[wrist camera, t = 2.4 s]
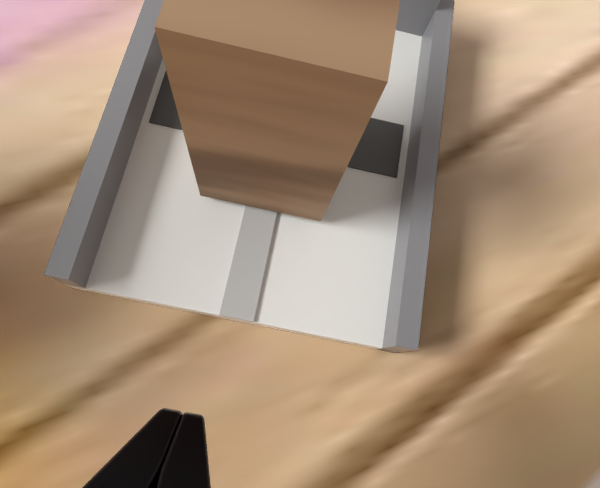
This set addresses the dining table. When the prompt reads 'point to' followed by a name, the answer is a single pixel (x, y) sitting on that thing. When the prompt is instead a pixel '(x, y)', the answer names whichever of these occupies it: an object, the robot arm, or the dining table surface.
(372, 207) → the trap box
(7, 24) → the dining table surface
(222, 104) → the slider
